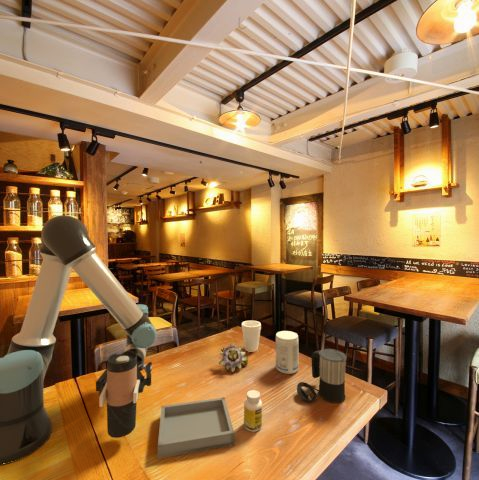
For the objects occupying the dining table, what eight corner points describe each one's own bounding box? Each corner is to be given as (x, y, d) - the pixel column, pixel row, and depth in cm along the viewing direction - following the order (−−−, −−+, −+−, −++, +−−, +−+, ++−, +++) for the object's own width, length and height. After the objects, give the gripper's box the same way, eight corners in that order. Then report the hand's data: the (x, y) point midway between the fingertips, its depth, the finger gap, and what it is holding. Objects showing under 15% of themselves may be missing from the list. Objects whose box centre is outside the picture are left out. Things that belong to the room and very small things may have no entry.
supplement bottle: (256, 435, 77) (256, 401, 77) (240, 427, 80) (240, 395, 80) (265, 423, 82) (265, 392, 82) (249, 417, 85) (249, 386, 84)
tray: (157, 458, 69) (157, 445, 69) (161, 416, 85) (161, 405, 85) (234, 445, 74) (234, 432, 74) (224, 407, 89) (224, 397, 89)
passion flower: (232, 383, 113) (217, 365, 109) (227, 366, 123) (213, 349, 119) (254, 367, 114) (240, 348, 110) (247, 351, 124) (234, 333, 120)
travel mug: (125, 441, 70) (126, 365, 70) (99, 436, 72) (100, 361, 71) (141, 421, 78) (142, 352, 77) (118, 417, 79) (118, 349, 79)
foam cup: (237, 350, 132) (237, 324, 131) (248, 344, 139) (248, 319, 139) (254, 355, 126) (254, 328, 126) (264, 348, 134) (264, 322, 133)
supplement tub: (293, 362, 120) (293, 329, 120) (302, 373, 111) (302, 338, 110) (272, 364, 118) (272, 331, 117) (280, 376, 109) (280, 340, 108)
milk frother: (350, 394, 96) (350, 354, 96) (330, 416, 85) (331, 370, 84) (313, 379, 106) (314, 342, 106) (291, 397, 95) (292, 356, 94)
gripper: (163, 367, 94) (159, 409, 72) (100, 372, 90) (74, 419, 67) (163, 346, 94) (159, 381, 72) (100, 350, 90) (74, 389, 67)
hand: (118, 399), depth 70 cm, fingers closed on travel mug, 7 cm apart
